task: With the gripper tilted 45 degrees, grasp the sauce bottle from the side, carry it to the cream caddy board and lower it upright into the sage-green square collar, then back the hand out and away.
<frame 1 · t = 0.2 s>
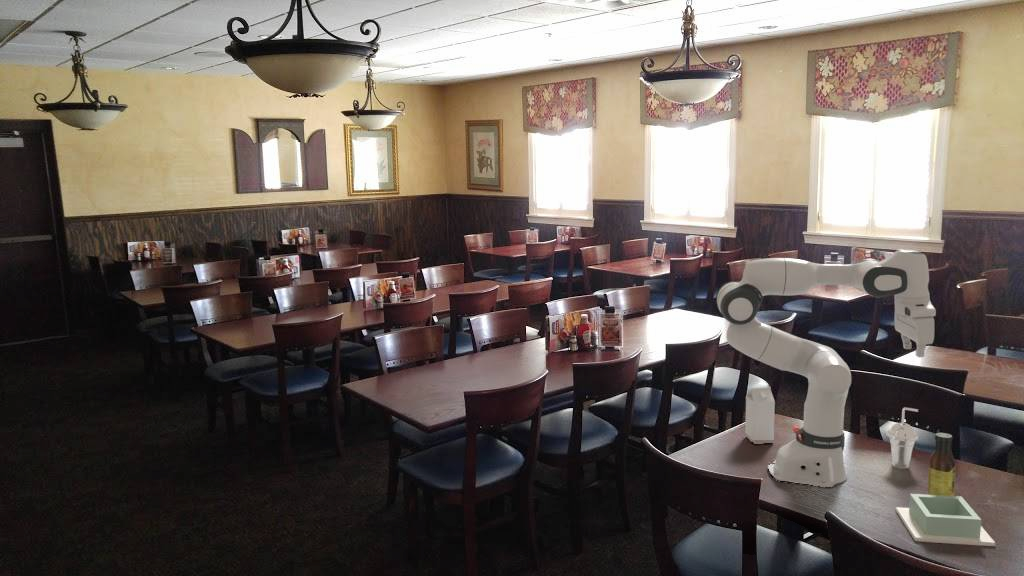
hand: (913, 352, 209), 39 cm above the table, tool pointing down, fingers open, 8 cm apart
caddy: (942, 527, 188), on the table
cup with straw: (900, 466, 224), on the table
sauce bottle: (939, 503, 201), on the table
milk carton: (759, 441, 248), on the table
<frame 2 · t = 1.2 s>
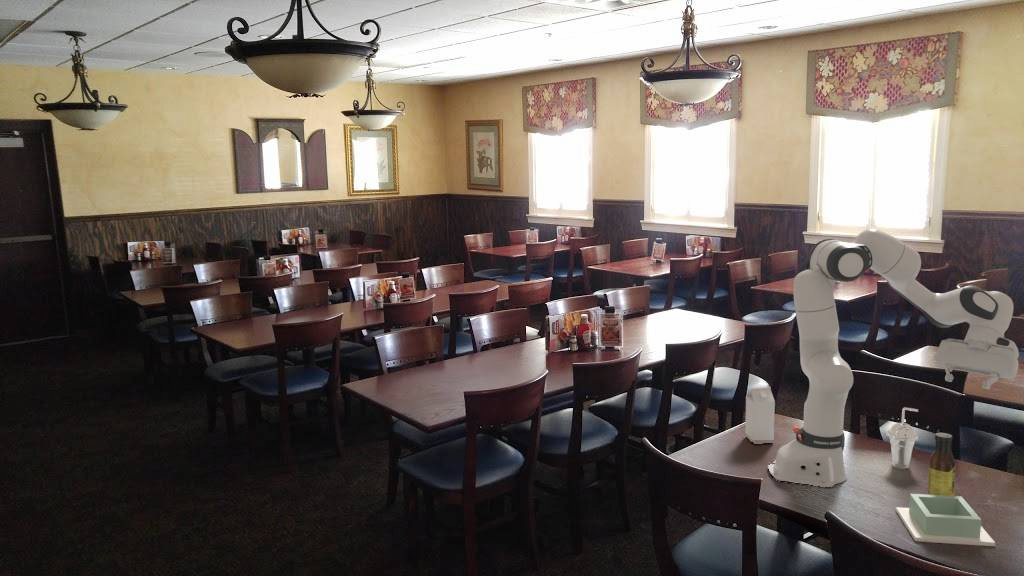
hand: (966, 384, 203), 32 cm above the table, tool tilted 45°, fingers open, 8 cm apart
nothing on the table moved.
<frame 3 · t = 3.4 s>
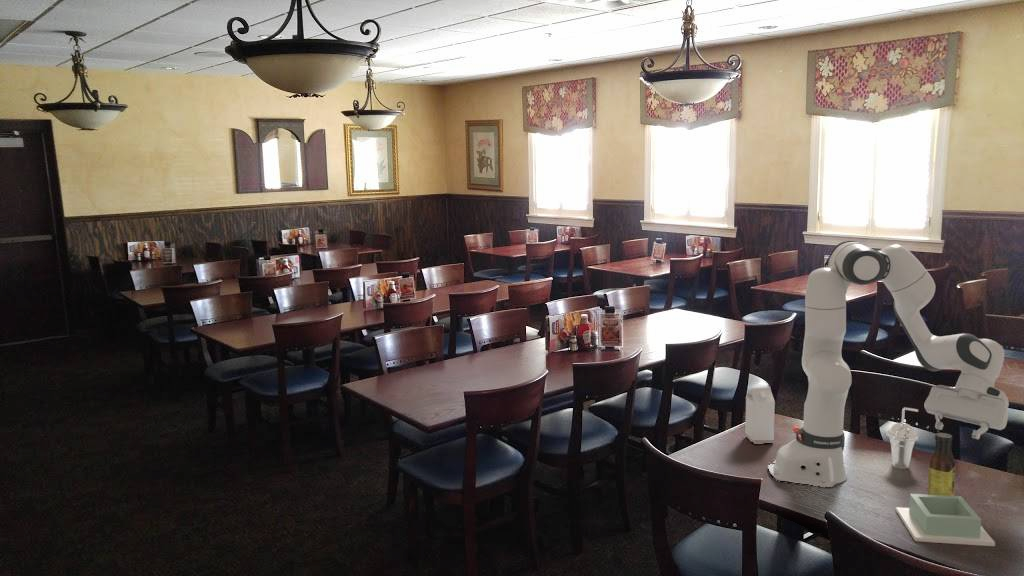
hand: (956, 433, 202), 18 cm above the table, tool tilted 45°, fingers open, 8 cm apart
nothing on the table moved.
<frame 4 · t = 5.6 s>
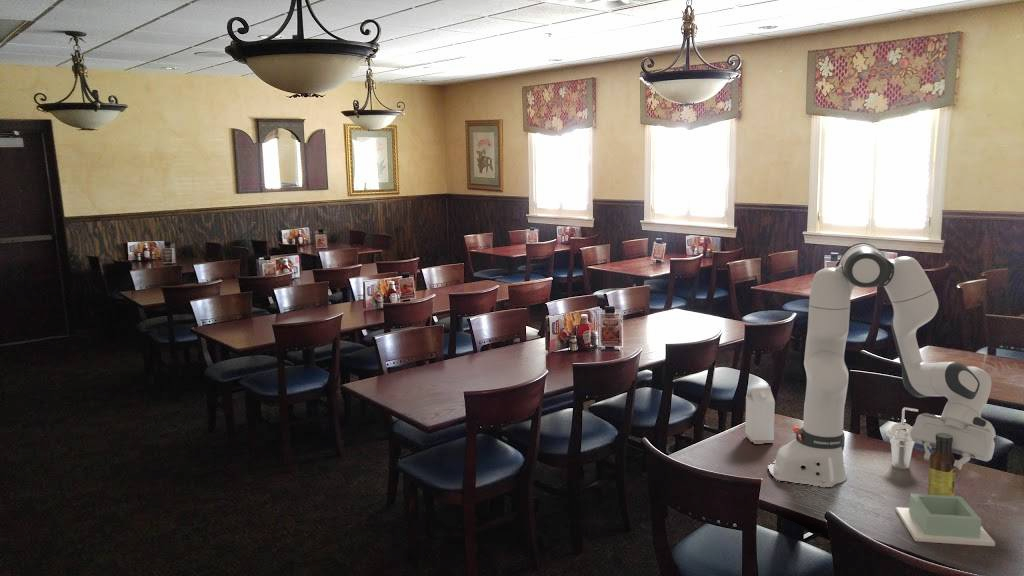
hand: (941, 463, 198), 12 cm above the table, tool tilted 45°, fingers closed on sauce bottle, 6 cm apart
sauce bottle: (939, 503, 201), on the table, touching gripper
everything else where it was.
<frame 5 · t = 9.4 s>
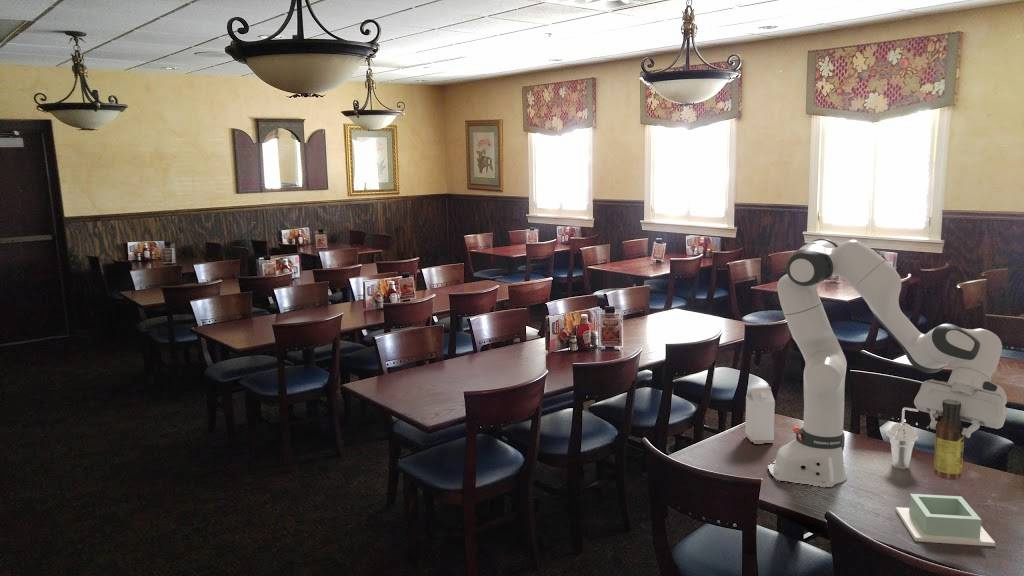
hand: (948, 432, 183), 26 cm above the table, tool tilted 45°, fingers closed on sauce bottle, 6 cm apart
sauce bottle: (946, 476, 186), point 14 cm above the table, touching gripper
everything else where it was.
when the fingers open (14 cm above the table, at t = 12.8 s): sauce bottle drops 1 cm, resting on caddy.
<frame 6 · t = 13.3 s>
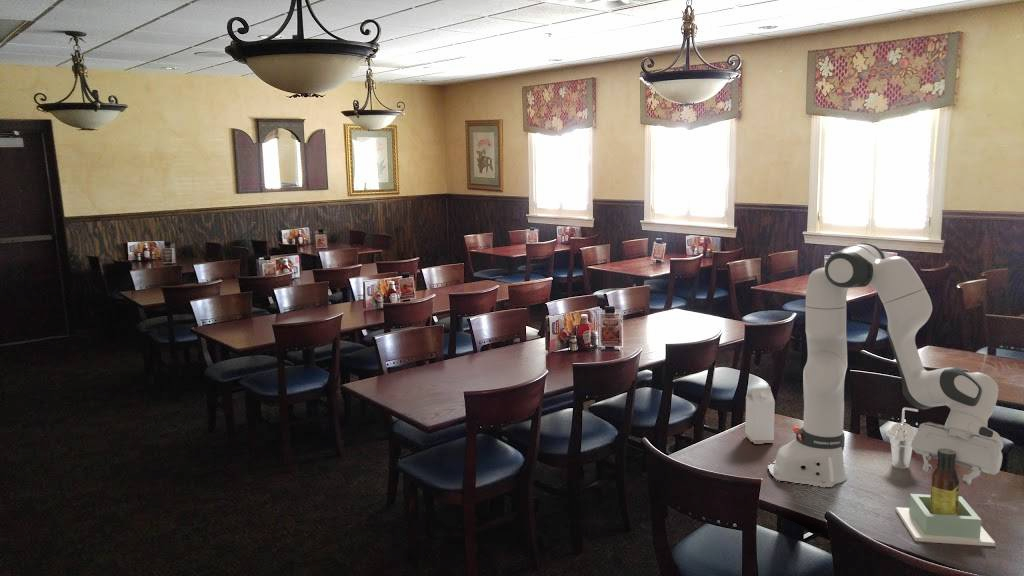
hand: (945, 476, 185), 14 cm above the table, tool tilted 45°, fingers open, 8 cm apart
sauce bottle: (942, 524, 188), point 1 cm above the table, touching caddy
everything else where it was.
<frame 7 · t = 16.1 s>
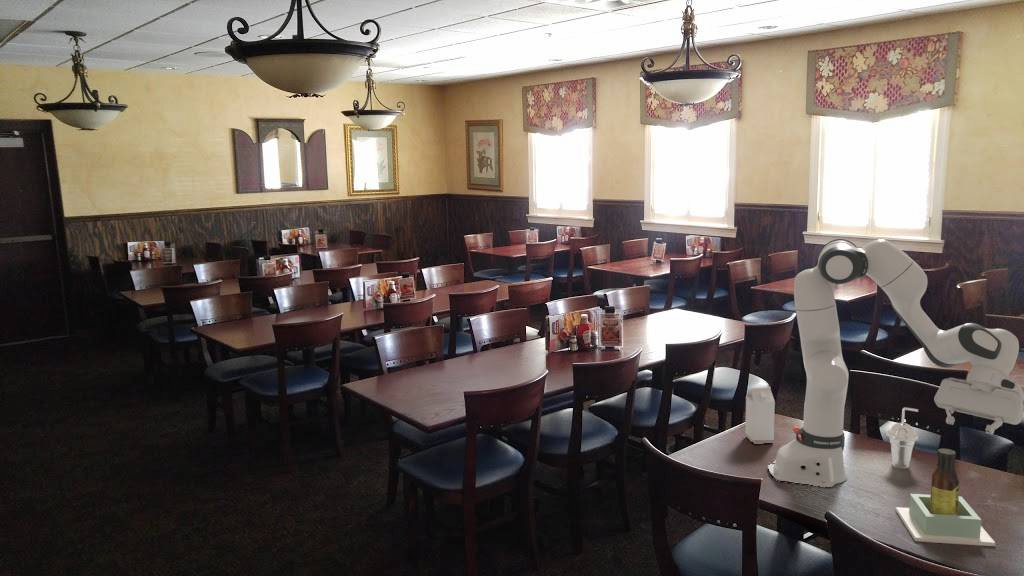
hand: (968, 428, 191), 24 cm above the table, tool tilted 45°, fingers open, 8 cm apart
nothing on the table moved.
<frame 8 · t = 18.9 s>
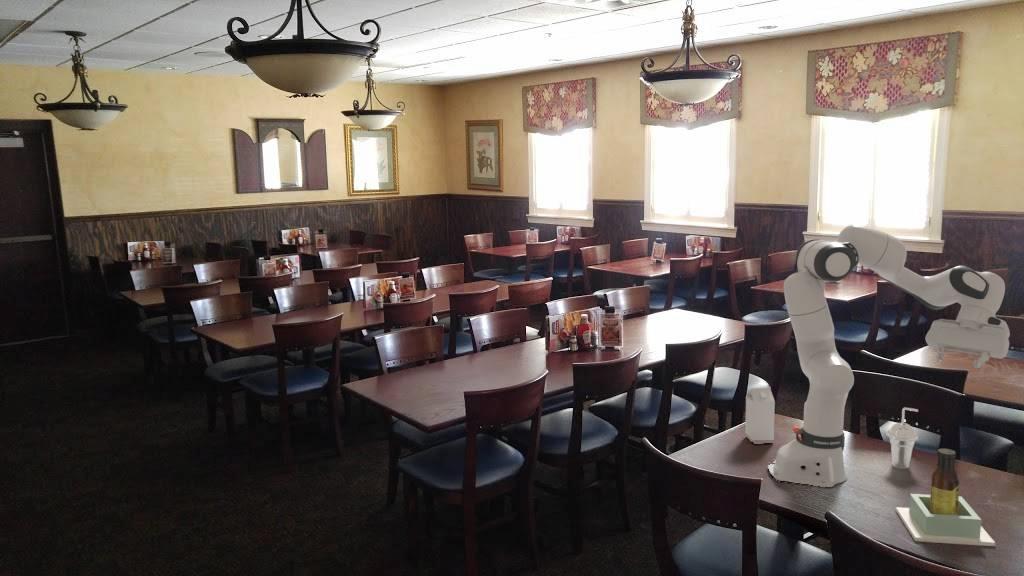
hand: (957, 363, 203), 37 cm above the table, tool tilted 45°, fingers open, 8 cm apart
nothing on the table moved.
at the end: sauce bottle 0.2 cm off-centre on the caddy, point 0.8 cm above the caddy's base; sauce bottle tilted 0°; the gripper is holding nothing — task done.
